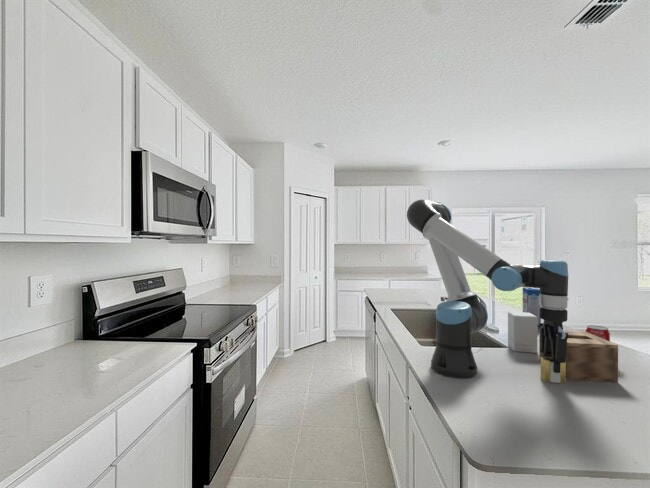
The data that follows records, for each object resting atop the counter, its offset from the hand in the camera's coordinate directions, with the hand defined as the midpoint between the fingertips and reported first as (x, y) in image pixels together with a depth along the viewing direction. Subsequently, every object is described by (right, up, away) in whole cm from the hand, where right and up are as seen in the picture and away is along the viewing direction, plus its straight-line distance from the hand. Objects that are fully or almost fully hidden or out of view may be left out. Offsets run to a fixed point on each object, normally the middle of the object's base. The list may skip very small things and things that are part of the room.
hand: (552, 379), depth 106 cm
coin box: (+14, 0, +8) cm, 16 cm away
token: (0, 0, 0) cm, 0 cm away
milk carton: (+40, -1, +73) cm, 84 cm away
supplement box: (+10, -1, +32) cm, 33 cm away
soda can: (+30, -1, +17) cm, 34 cm away
